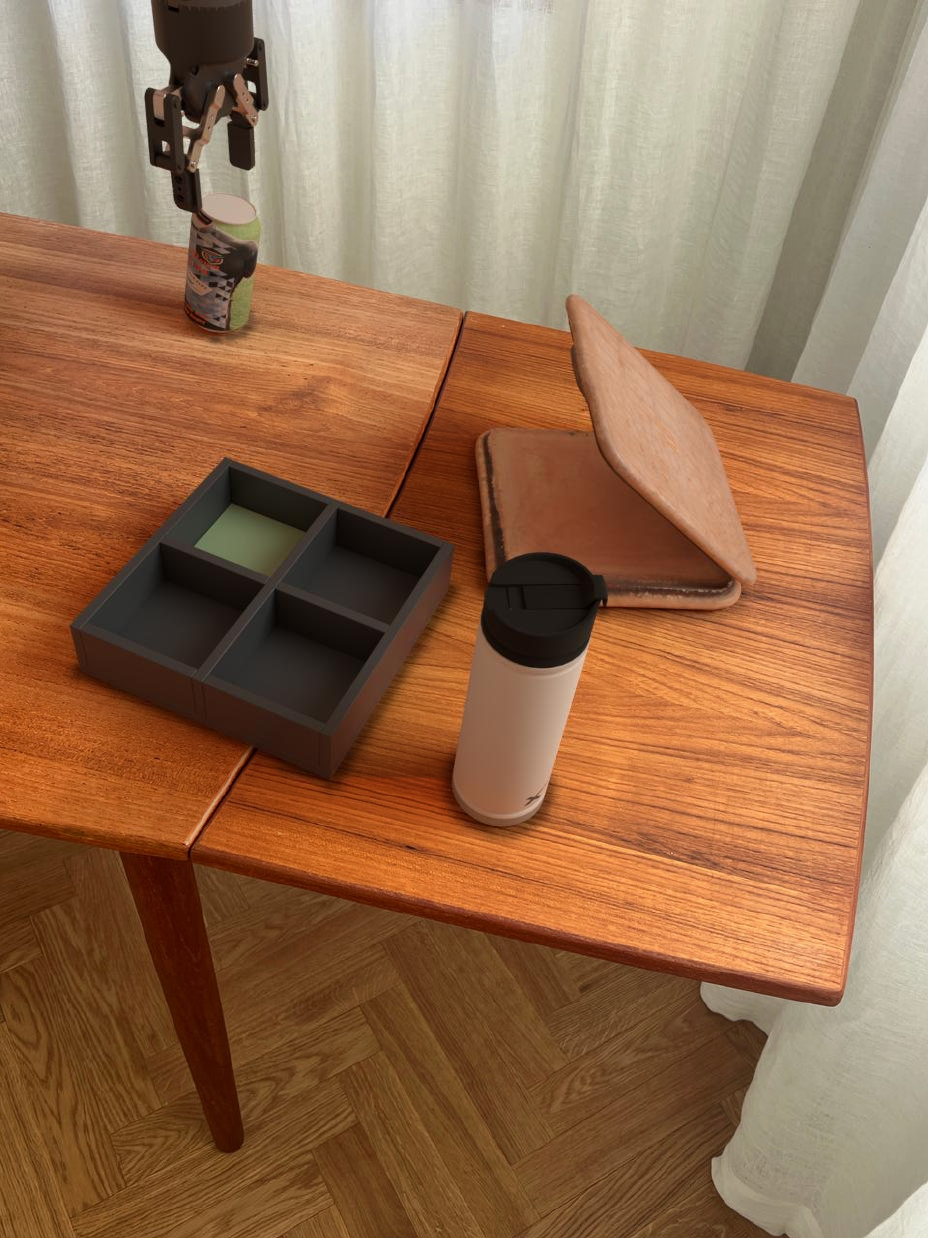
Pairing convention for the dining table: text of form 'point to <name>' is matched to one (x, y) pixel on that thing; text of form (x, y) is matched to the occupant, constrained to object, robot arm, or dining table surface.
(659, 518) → the case
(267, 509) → the four compartment organizer
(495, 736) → the travel mug
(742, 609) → the dining table surface
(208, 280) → the beverage can
